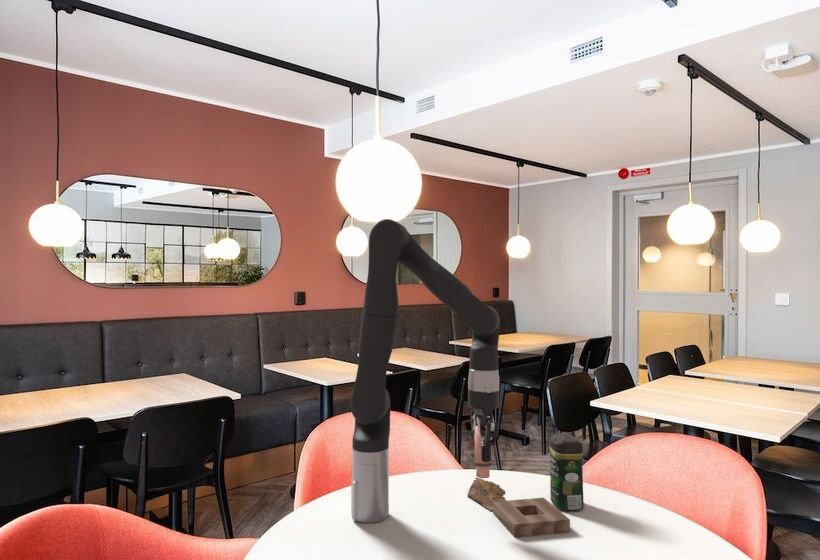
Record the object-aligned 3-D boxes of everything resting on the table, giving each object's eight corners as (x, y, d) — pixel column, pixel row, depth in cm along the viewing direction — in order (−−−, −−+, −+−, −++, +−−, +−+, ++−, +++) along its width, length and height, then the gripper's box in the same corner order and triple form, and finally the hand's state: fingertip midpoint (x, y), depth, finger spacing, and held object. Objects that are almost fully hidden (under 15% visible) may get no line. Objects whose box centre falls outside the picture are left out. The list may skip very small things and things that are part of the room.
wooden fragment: (513, 512, 141) (513, 508, 141) (470, 512, 141) (470, 508, 141) (498, 479, 166) (498, 475, 166) (462, 479, 166) (462, 475, 167)
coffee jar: (547, 498, 149) (546, 430, 150) (575, 498, 149) (575, 430, 150) (556, 513, 140) (556, 440, 140) (587, 512, 140) (586, 440, 140)
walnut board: (514, 537, 126) (514, 524, 126) (493, 513, 139) (493, 501, 139) (570, 532, 129) (569, 519, 129) (543, 509, 142) (543, 497, 142)
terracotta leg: (477, 479, 129) (477, 428, 130) (471, 473, 133) (472, 424, 134) (494, 478, 130) (494, 428, 130) (488, 472, 134) (488, 423, 135)
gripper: (460, 383, 138) (459, 450, 138) (478, 393, 125) (477, 468, 124) (488, 382, 140) (487, 449, 140) (509, 392, 126) (508, 467, 126)
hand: (483, 458), depth 132 cm, fingers closed on terracotta leg, 4 cm apart
